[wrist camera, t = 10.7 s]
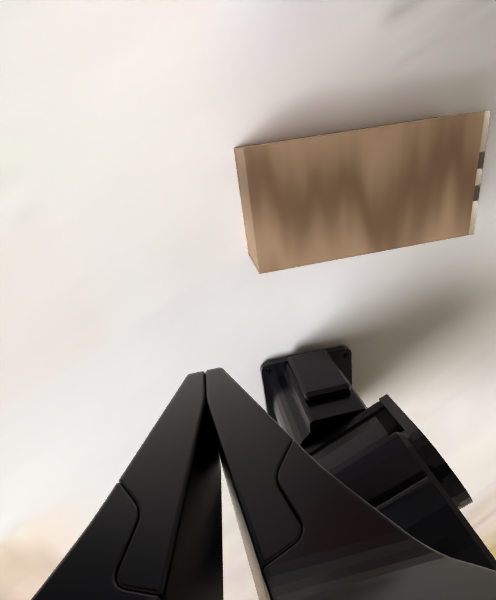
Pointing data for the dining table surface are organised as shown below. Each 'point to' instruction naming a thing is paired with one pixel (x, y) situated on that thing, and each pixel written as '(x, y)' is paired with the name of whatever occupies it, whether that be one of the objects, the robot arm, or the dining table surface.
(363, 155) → the walnut block
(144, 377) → the dining table surface
